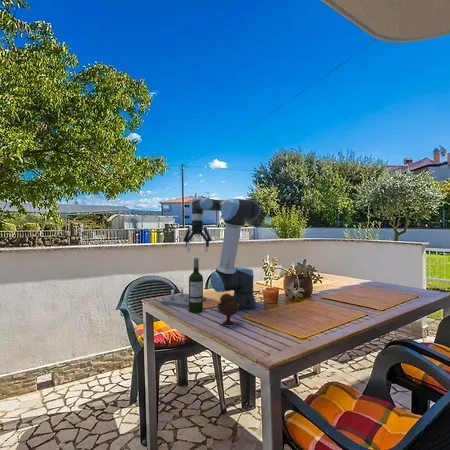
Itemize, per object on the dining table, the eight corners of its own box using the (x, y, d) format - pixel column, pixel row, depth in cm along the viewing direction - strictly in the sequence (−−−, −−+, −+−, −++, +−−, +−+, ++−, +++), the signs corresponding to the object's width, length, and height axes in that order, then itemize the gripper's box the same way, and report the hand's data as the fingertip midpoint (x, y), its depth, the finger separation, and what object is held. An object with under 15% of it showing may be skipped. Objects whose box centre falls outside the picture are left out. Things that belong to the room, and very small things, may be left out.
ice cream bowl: (237, 328, 136) (238, 296, 136) (214, 326, 138) (215, 295, 138) (241, 321, 146) (241, 291, 147) (219, 319, 149) (219, 290, 149)
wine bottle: (191, 313, 159) (191, 258, 159) (187, 309, 166) (187, 257, 167) (204, 312, 162) (205, 258, 162) (200, 308, 169) (200, 257, 170)
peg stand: (205, 300, 188) (205, 288, 188) (188, 308, 170) (188, 294, 170) (180, 297, 196) (180, 285, 197) (161, 303, 179) (161, 290, 179)
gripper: (216, 220, 197) (216, 251, 195) (184, 222, 206) (183, 252, 204) (211, 219, 190) (211, 251, 188) (178, 220, 199) (178, 251, 197)
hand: (197, 252), depth 196 cm, fingers open, 13 cm apart
